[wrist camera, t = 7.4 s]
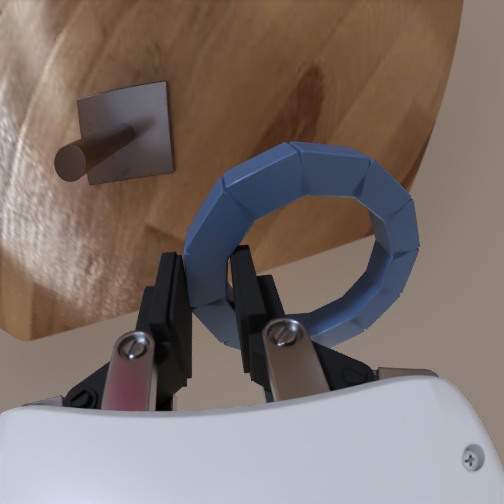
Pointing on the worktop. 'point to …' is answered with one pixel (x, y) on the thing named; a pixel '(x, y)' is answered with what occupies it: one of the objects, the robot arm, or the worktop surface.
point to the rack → (120, 136)
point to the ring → (279, 195)
